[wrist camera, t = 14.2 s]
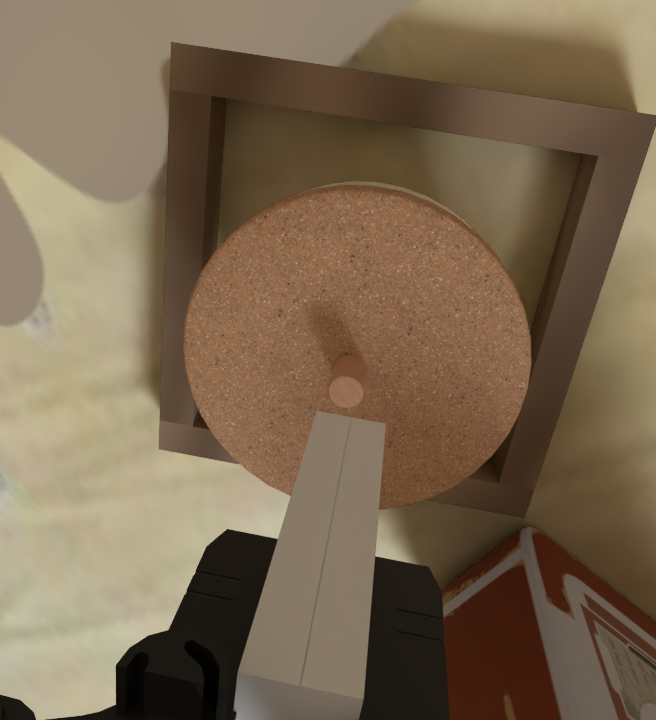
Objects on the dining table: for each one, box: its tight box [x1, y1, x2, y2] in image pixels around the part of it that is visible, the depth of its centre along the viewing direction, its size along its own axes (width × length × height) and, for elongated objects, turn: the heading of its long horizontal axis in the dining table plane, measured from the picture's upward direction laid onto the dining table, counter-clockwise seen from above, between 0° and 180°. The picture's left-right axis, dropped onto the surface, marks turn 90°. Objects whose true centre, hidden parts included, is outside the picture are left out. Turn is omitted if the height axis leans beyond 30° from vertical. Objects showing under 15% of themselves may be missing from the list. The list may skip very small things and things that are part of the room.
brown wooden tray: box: [159, 42, 656, 518], centre depth 25 cm, size 16×16×2 cm
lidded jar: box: [183, 181, 532, 509], centre depth 22 cm, size 11×11×9 cm
